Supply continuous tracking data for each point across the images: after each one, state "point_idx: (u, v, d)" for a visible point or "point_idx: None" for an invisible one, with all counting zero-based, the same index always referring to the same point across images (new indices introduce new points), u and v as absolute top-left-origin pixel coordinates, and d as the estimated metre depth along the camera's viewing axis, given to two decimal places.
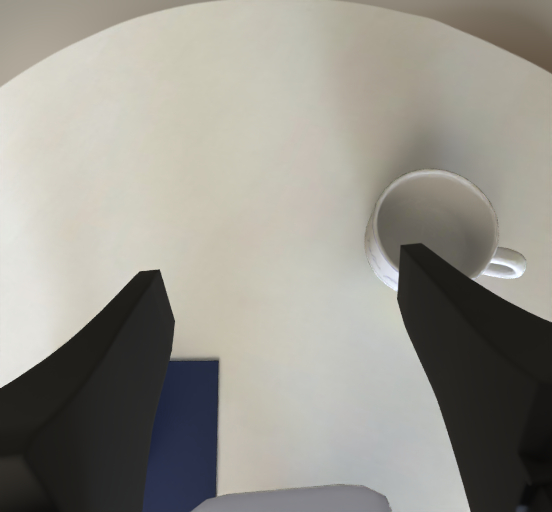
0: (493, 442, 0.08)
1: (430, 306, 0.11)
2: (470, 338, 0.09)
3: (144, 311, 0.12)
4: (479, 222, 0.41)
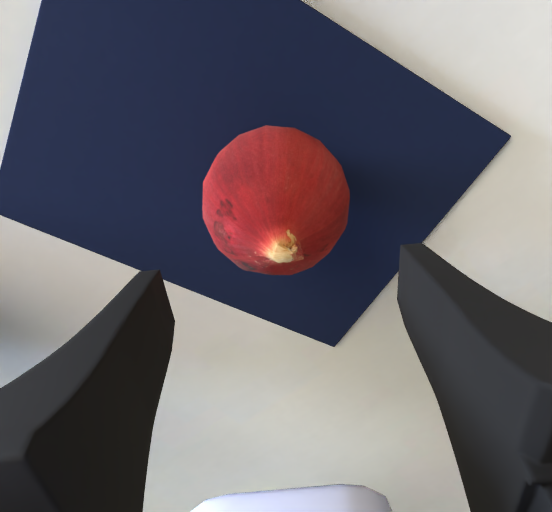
0: (493, 442, 0.08)
1: (430, 306, 0.11)
2: (470, 338, 0.09)
3: (144, 311, 0.12)
4: None
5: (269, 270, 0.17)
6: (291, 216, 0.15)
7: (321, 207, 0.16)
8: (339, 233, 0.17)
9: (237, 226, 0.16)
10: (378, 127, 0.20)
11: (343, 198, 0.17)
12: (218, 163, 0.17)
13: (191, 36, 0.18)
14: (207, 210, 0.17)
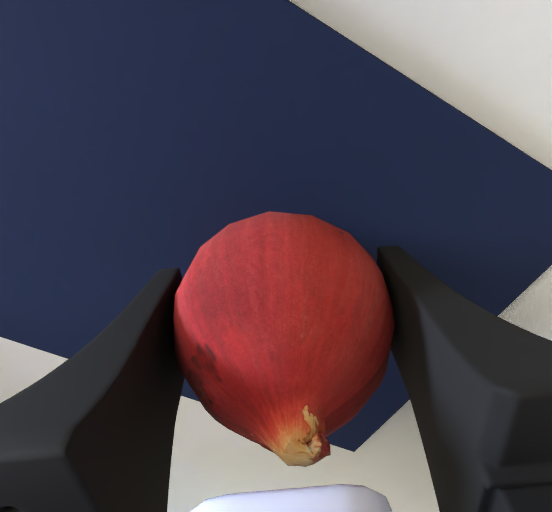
0: (457, 445, 0.08)
1: (403, 309, 0.11)
2: (436, 341, 0.09)
3: (166, 309, 0.12)
4: None
5: None
6: (311, 382, 0.09)
7: (357, 360, 0.10)
8: (380, 382, 0.11)
9: (223, 392, 0.10)
10: (428, 197, 0.15)
11: (388, 331, 0.11)
12: (195, 278, 0.11)
13: (162, 75, 0.12)
14: (179, 347, 0.11)
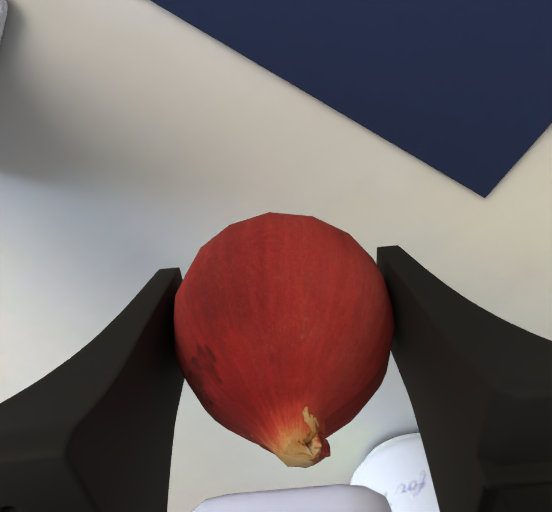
0: (457, 445, 0.08)
1: (403, 309, 0.11)
2: (436, 341, 0.09)
3: (166, 309, 0.12)
4: None
5: None
6: (311, 384, 0.09)
7: (357, 361, 0.10)
8: (380, 383, 0.11)
9: (223, 393, 0.10)
10: None
11: (388, 331, 0.11)
12: (196, 280, 0.11)
13: None
14: (179, 348, 0.11)
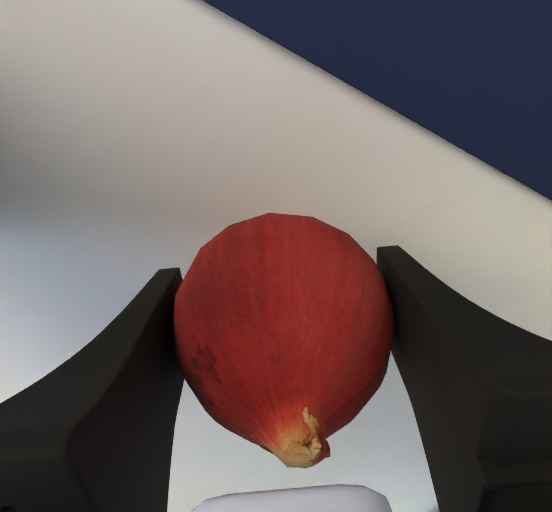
0: (457, 445, 0.08)
1: (403, 309, 0.11)
2: (436, 341, 0.09)
3: (166, 309, 0.12)
4: None
5: None
6: (311, 384, 0.09)
7: (357, 362, 0.10)
8: (380, 383, 0.11)
9: (223, 394, 0.10)
10: None
11: (388, 332, 0.11)
12: (196, 280, 0.11)
13: None
14: (179, 349, 0.11)
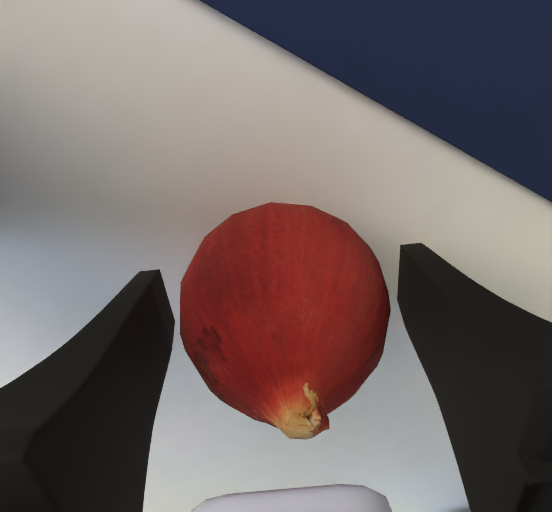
0: (493, 442, 0.08)
1: (430, 306, 0.11)
2: (470, 338, 0.09)
3: (144, 311, 0.12)
4: None
5: None
6: (311, 361, 0.10)
7: (354, 341, 0.10)
8: (377, 363, 0.12)
9: (228, 371, 0.10)
10: None
11: (384, 314, 0.12)
12: (201, 265, 0.11)
13: None
14: (185, 331, 0.12)
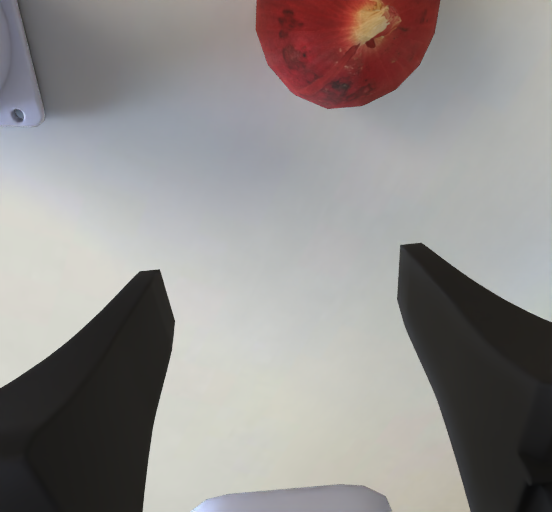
0: (493, 442, 0.08)
1: (430, 306, 0.11)
2: (470, 338, 0.09)
3: (144, 311, 0.12)
4: None
5: (366, 76, 0.13)
6: None
7: None
8: None
9: (307, 31, 0.13)
10: None
11: None
12: None
13: None
14: (270, 47, 0.14)
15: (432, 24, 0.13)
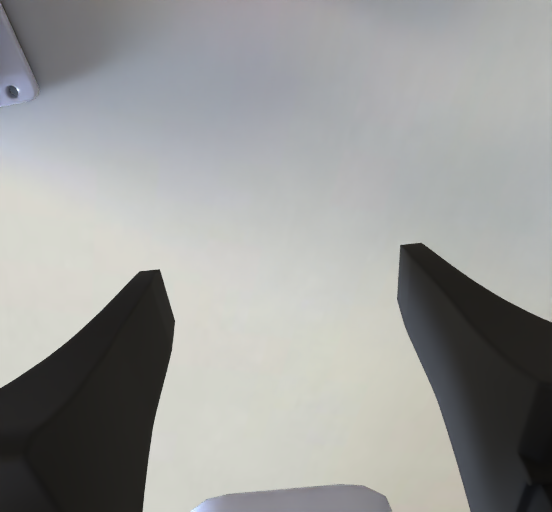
0: (493, 442, 0.08)
1: (430, 306, 0.11)
2: (470, 338, 0.09)
3: (144, 311, 0.12)
4: None
5: None
6: None
7: None
8: None
9: None
10: None
11: None
12: None
13: None
14: None
15: None
